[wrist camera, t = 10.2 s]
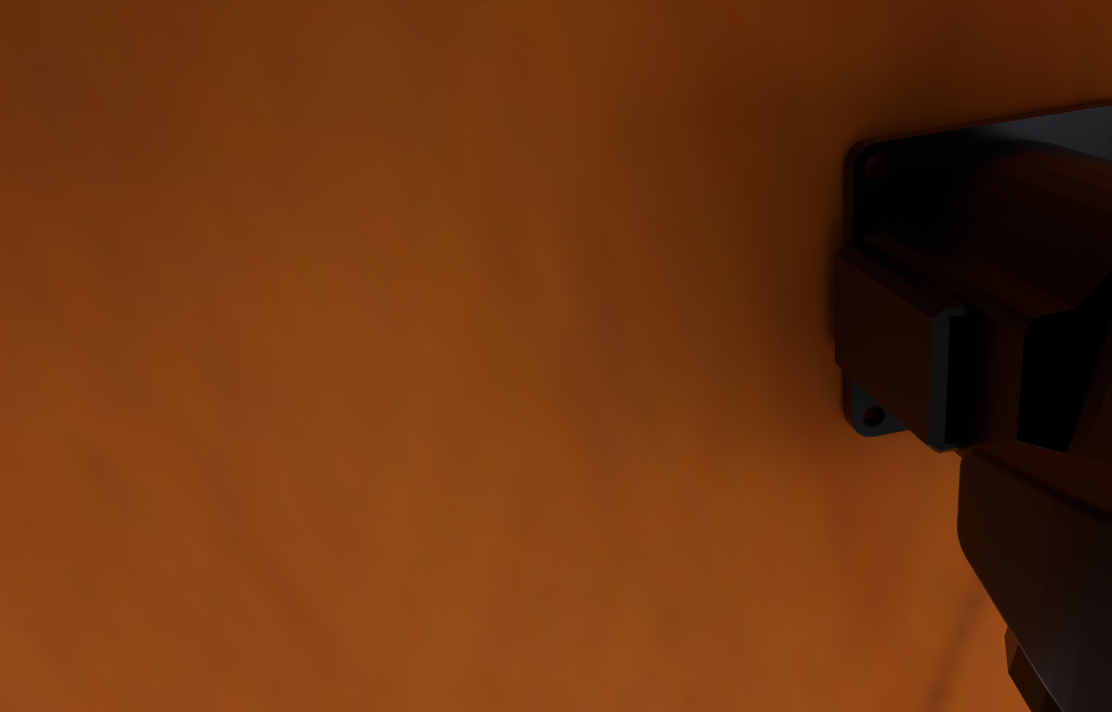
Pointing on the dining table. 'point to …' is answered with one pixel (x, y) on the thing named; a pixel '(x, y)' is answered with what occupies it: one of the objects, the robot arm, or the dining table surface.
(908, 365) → the robot arm
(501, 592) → the dining table surface
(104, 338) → the dining table surface
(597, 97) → the dining table surface
